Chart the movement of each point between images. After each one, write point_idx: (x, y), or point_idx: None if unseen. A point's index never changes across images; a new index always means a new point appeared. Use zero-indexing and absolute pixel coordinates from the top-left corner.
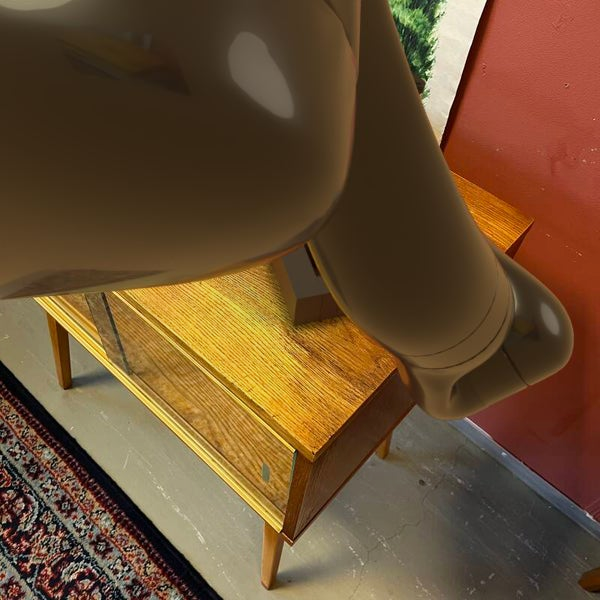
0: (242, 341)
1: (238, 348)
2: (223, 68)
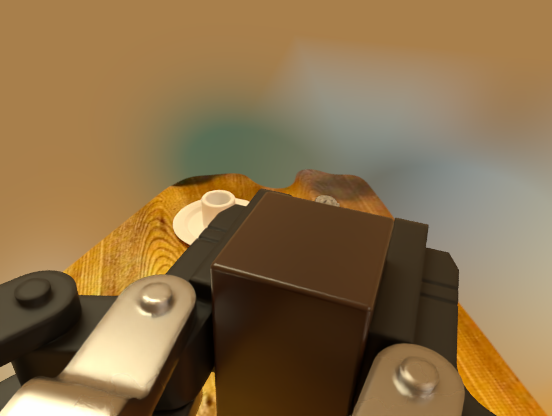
0: None
1: None
2: None
